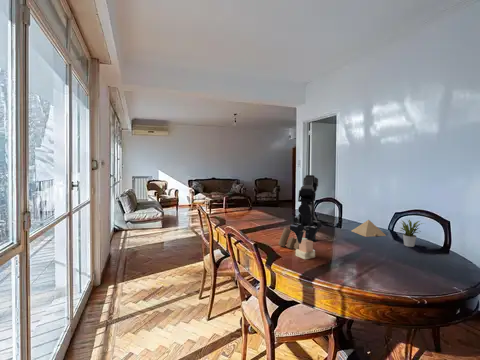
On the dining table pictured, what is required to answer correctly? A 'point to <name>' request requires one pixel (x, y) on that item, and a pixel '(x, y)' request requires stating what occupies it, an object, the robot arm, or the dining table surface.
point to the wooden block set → (290, 242)
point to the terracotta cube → (306, 245)
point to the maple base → (305, 254)
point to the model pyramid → (368, 230)
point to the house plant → (410, 233)
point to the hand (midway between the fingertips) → (305, 242)
